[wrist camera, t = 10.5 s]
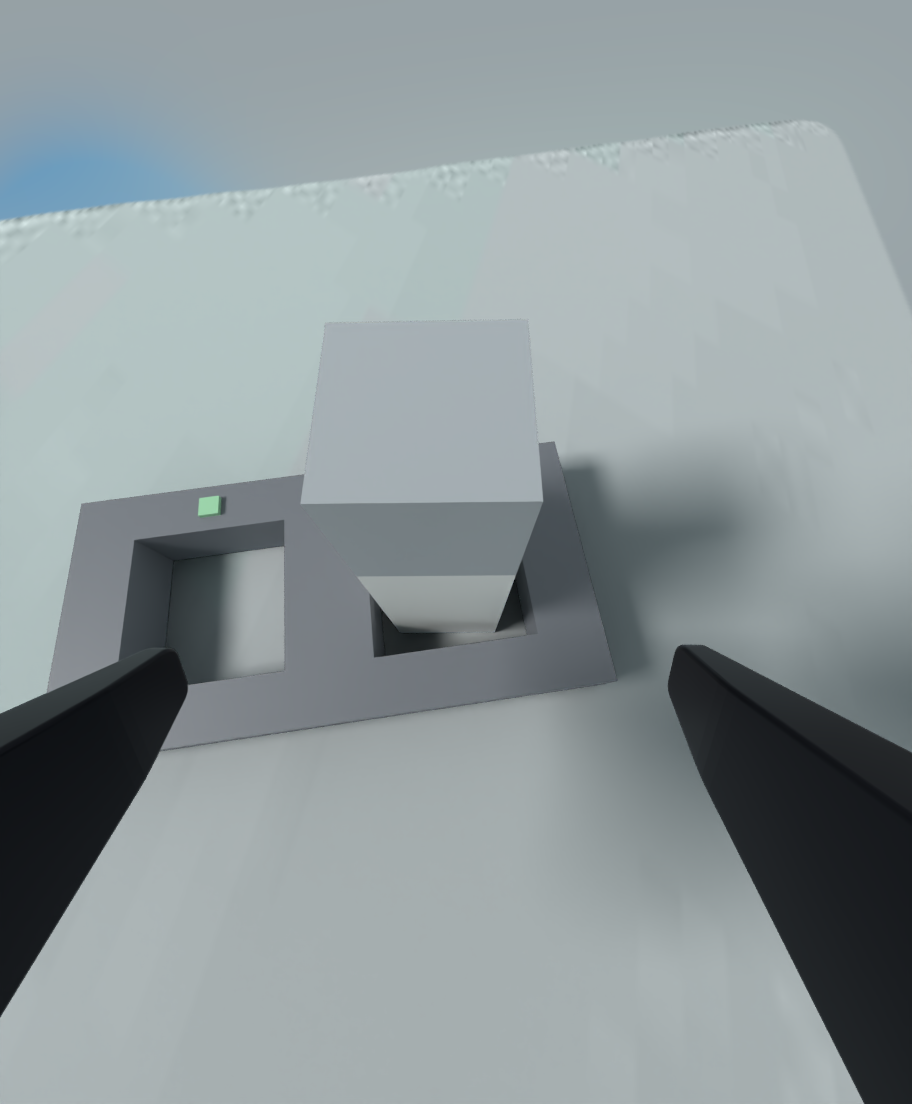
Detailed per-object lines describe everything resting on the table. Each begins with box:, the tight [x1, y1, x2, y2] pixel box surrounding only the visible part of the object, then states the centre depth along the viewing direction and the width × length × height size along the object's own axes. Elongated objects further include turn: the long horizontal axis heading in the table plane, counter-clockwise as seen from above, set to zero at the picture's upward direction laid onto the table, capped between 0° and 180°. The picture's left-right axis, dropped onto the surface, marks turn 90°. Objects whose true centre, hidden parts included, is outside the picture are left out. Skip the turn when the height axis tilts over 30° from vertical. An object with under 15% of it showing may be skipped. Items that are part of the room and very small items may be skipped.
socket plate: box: [47, 442, 617, 751], centre depth 18 cm, size 10×20×3 cm, turn 98°
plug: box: [300, 319, 543, 633], centre depth 14 cm, size 5×4×12 cm
